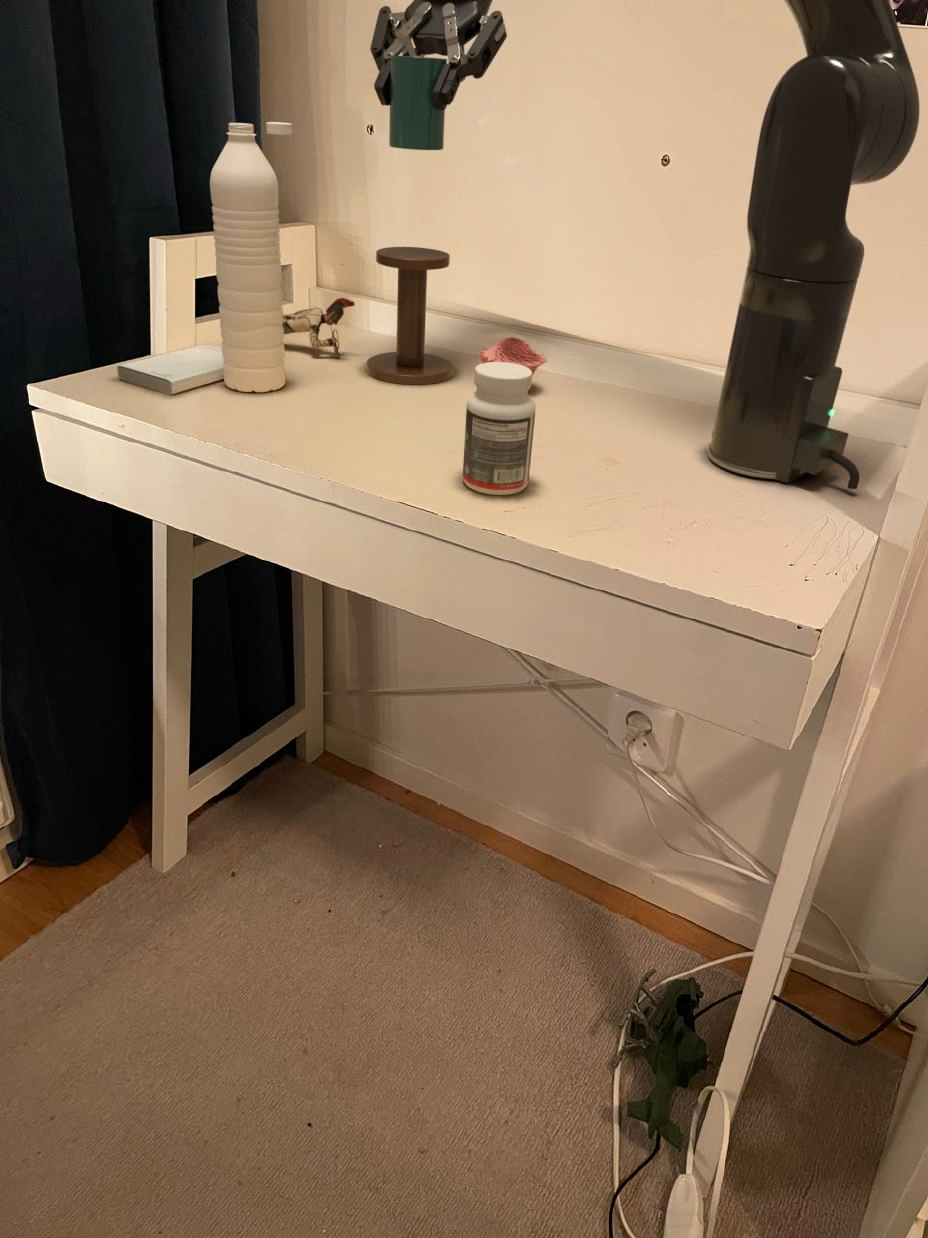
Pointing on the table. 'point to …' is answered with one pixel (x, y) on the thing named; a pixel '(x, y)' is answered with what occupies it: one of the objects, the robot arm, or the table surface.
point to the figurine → (317, 322)
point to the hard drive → (176, 370)
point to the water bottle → (248, 261)
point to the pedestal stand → (411, 320)
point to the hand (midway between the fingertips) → (410, 100)
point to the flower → (513, 354)
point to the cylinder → (415, 103)
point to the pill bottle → (499, 429)
